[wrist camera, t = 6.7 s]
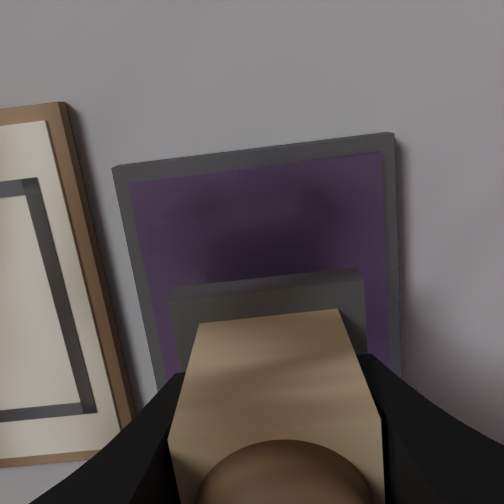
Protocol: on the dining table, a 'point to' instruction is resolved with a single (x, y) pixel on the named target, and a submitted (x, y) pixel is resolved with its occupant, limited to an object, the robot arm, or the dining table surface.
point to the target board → (53, 301)
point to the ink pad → (264, 228)
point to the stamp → (275, 392)
